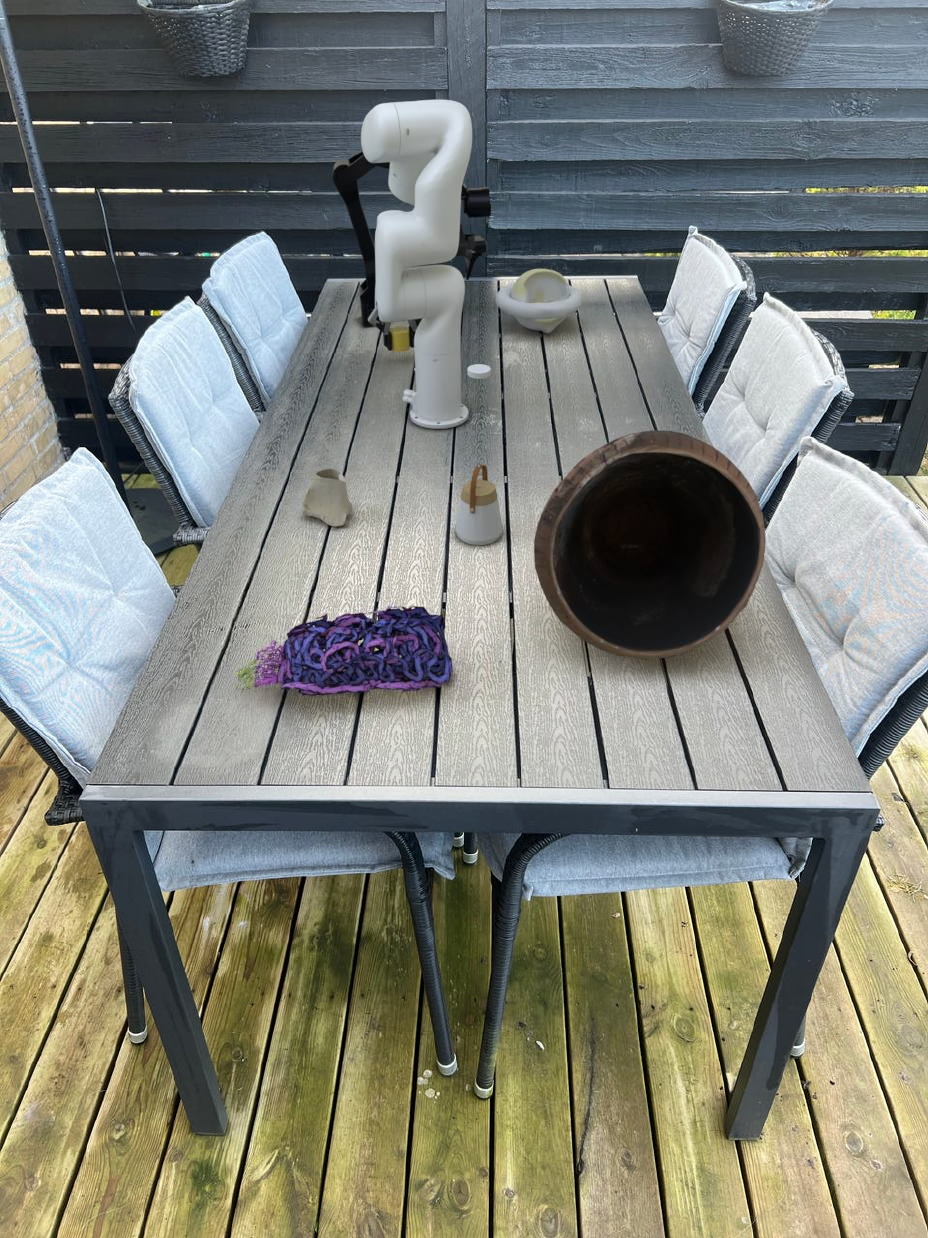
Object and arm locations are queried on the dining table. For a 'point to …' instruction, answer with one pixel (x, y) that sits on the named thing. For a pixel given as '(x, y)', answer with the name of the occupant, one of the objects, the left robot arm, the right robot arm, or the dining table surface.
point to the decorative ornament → (358, 654)
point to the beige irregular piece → (327, 498)
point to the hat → (539, 299)
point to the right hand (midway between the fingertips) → (400, 346)
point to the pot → (650, 545)
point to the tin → (400, 338)
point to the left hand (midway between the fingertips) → (450, 281)
